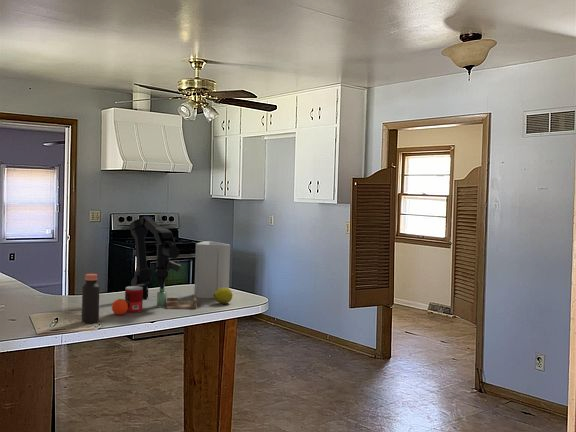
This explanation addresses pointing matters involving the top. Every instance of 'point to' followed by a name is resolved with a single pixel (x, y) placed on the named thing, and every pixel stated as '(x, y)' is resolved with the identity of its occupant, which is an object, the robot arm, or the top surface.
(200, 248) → the paper bag
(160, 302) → the bottle
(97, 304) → the vinegar
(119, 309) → the clementine
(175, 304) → the cradle
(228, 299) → the lemon
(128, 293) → the canned food
